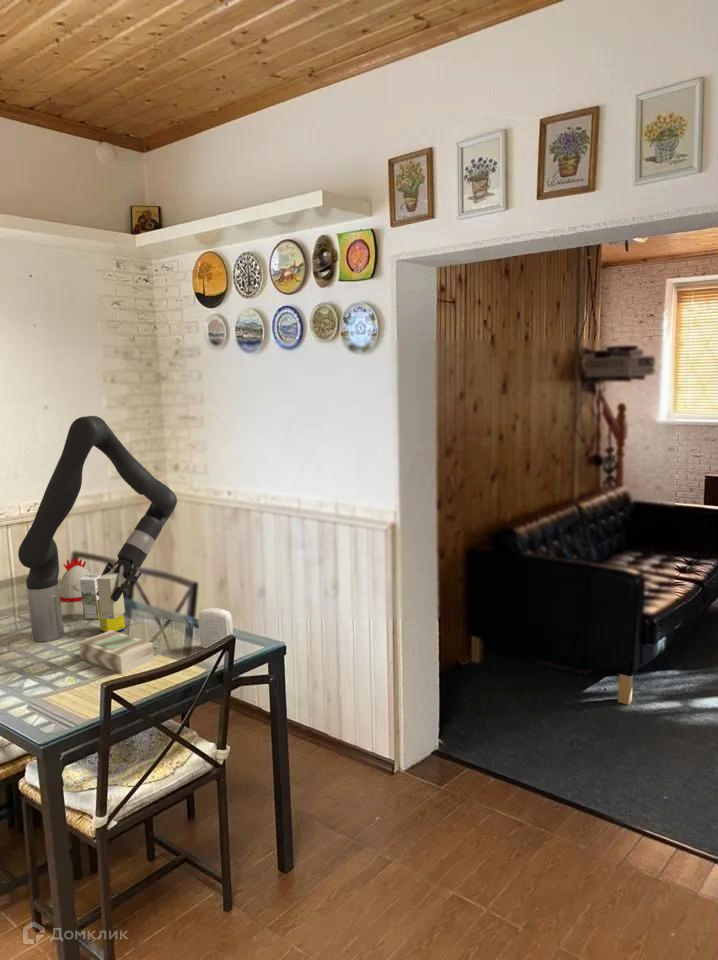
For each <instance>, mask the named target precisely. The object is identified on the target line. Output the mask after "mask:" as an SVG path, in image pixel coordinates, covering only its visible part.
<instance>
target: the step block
mask: <svg viewBox="0 0 718 960" xmlns="http://www.w3.org/2000/svg"><path fill="white" fill-rule="evenodd" d="M78 643H79V645H78V646H79V653H80V659H83V660H85V661H87V662H90V663H93V664H96V665H98V666H101V667H103V668H104V667H105V668H107V669H109V670H111V671H115V672H118V673H120V674H123V673H126V672H129V671H131V670H133V669H135V668H137V667H138V668H139V667H140V666H143V665H145V664H146V663H150V662H151V661H153V660H155V654H154V653H155V652H154V643H153V642H151V641H147V640H144V639H141V638H138V637H134V636H131V635H129V634H126V633H122V632H116V631H113V630H110V631H108V632H105V633H103V632H101V633H100V634H97V635H95V636H92V637H90V638H87V639H84V640H82V641H79V642H78Z"/></svg>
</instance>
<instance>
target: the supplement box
mask: <svg viewBox="0 0 718 960" xmlns="http://www.w3.org/2000/svg"><path fill="white" fill-rule="evenodd" d="M97 605H98V613H99V619H98V620H99V628H100V629H99V630H100V632H101V633H105V632H108V631H110V630H113V631H116V632H119V633H121V632H124V631H126V628H125V627H126V625H125V617H124V613H123V614H122V615H120V616H119V617H117V618H115V619H101V611H100V602H99V599H97Z"/></svg>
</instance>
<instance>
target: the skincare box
mask: <svg viewBox="0 0 718 960" xmlns="http://www.w3.org/2000/svg"><path fill="white" fill-rule="evenodd" d="M118 577H119V574H118V573H107V574H105V575H103V576H101V577H99V578H97V585H98V593H99V602H100V611H101V619H115V618H117V617H119V616H120V615H122V614H123V615H124V613H126V609H125V600H124V592H123V593H122V595H121V596H120V598H119V599H118V601H117V602H115V601H113V600H112V599H111V598H110V597H111V596H112V594H113V592H114V591H115V589H116V587H118V583H119V580H118Z"/></svg>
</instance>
